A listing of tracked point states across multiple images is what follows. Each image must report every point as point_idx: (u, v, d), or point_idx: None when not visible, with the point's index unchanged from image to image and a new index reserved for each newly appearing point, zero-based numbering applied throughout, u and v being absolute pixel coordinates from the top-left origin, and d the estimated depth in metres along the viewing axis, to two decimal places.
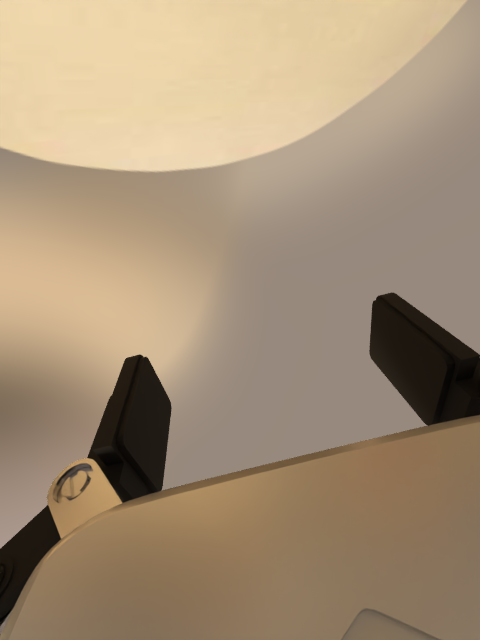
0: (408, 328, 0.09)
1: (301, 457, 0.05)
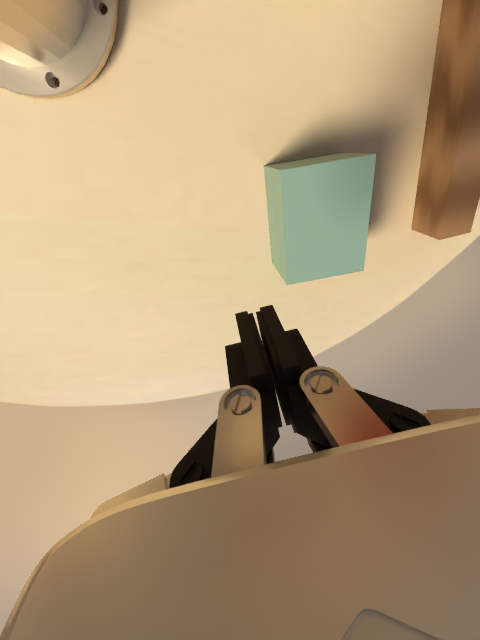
0: (266, 338, 0.10)
1: (301, 457, 0.05)
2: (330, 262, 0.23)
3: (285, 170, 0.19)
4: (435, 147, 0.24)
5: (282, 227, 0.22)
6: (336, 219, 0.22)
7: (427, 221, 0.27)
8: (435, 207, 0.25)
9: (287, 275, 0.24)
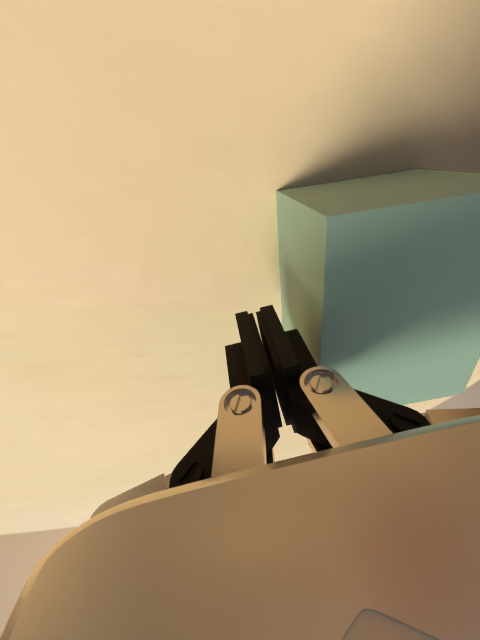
0: (266, 338, 0.10)
1: (301, 457, 0.05)
2: (405, 384, 0.12)
3: (338, 217, 0.08)
4: None
5: (317, 327, 0.10)
6: (434, 315, 0.10)
7: None
8: None
9: None
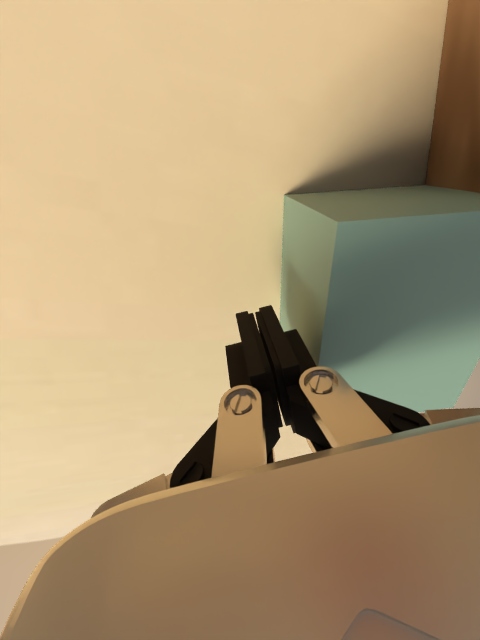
0: (266, 339, 0.10)
1: (301, 457, 0.05)
2: (398, 395, 0.12)
3: (348, 223, 0.08)
4: None
5: (317, 332, 0.10)
6: (432, 327, 0.10)
7: None
8: None
9: None
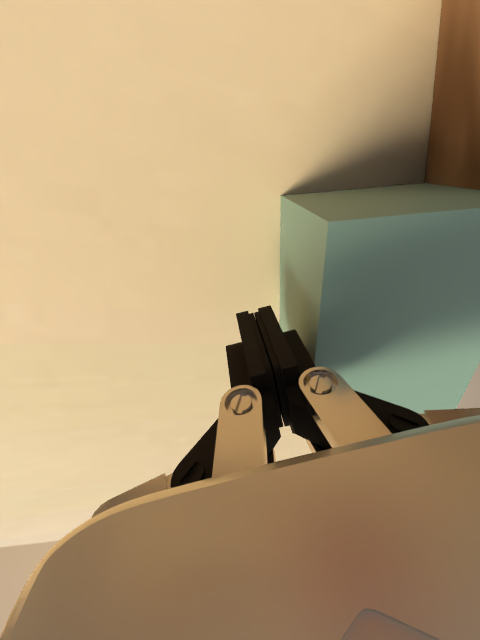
0: (265, 339, 0.10)
1: (301, 457, 0.05)
2: (398, 396, 0.12)
3: (339, 222, 0.08)
4: None
5: (312, 332, 0.10)
6: (430, 327, 0.10)
7: None
8: None
9: None
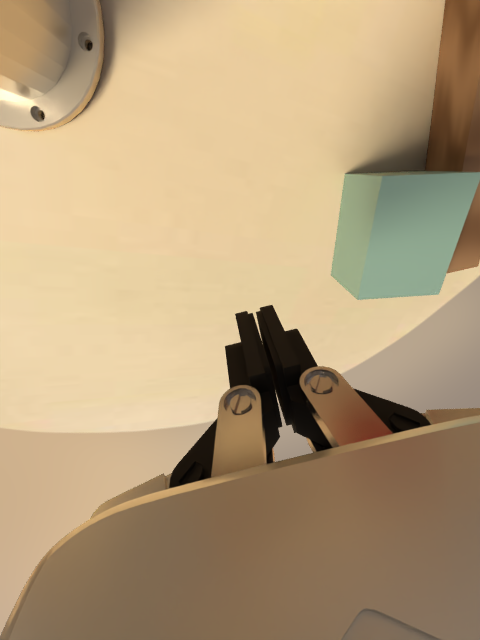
0: (266, 338, 0.10)
1: (301, 457, 0.05)
2: (407, 281, 0.22)
3: (387, 176, 0.18)
4: None
5: (366, 237, 0.20)
6: (425, 236, 0.20)
7: None
8: None
9: (360, 289, 0.22)
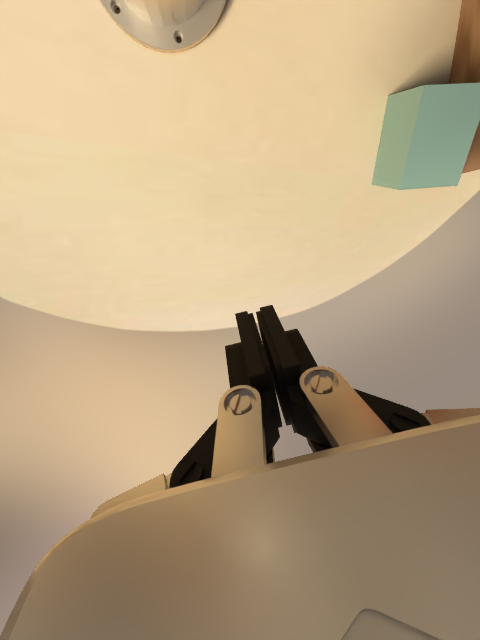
0: (266, 338, 0.10)
1: (301, 457, 0.05)
2: (436, 173, 0.30)
3: (427, 85, 0.26)
4: None
5: (408, 137, 0.28)
6: (450, 135, 0.28)
7: None
8: None
9: (402, 180, 0.30)
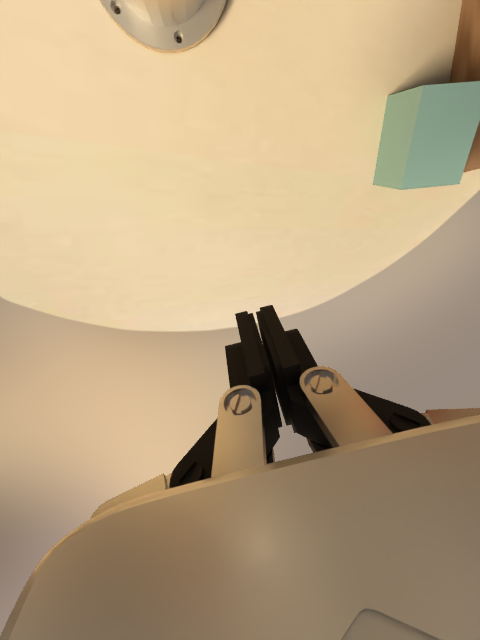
0: (266, 338, 0.10)
1: (301, 457, 0.05)
2: (437, 172, 0.30)
3: (426, 85, 0.26)
4: None
5: (409, 137, 0.28)
6: (451, 134, 0.28)
7: None
8: None
9: (403, 180, 0.30)
